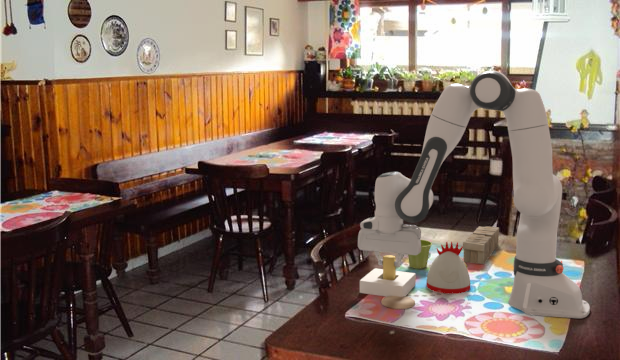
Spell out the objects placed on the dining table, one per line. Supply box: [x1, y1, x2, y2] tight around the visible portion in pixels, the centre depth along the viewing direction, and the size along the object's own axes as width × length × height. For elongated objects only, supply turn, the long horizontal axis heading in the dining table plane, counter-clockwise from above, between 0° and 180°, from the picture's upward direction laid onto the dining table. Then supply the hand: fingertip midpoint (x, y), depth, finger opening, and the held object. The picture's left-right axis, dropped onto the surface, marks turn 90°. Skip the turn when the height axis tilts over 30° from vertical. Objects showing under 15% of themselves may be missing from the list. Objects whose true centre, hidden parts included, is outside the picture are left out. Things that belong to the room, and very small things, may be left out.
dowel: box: [382, 254, 397, 281], centre depth 207 cm, size 4×4×8 cm
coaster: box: [381, 295, 416, 310], centre depth 196 cm, size 10×10×1 cm
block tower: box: [462, 226, 500, 265], centre depth 246 cm, size 8×8×29 cm
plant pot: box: [407, 239, 433, 270], centre depth 231 cm, size 9×9×9 cm
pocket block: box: [359, 267, 417, 297], centre depth 208 cm, size 14×14×4 cm
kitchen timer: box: [426, 241, 471, 295], centre depth 209 cm, size 14×14×15 cm
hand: (389, 265), depth 207 cm, fingers closed on dowel, 4 cm apart
